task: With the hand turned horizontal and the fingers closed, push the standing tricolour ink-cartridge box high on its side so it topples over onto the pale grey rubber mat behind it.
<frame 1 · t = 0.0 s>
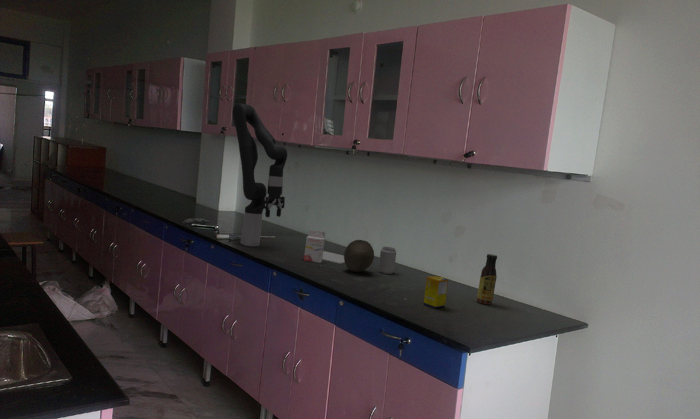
hand: (273, 216, 277), 17 cm above the worktop, tool pointing down, fingers open, 8 cm apart
can: (385, 272, 255), on the worktop
cantaloupe: (357, 272, 248), on the worktop
mat: (331, 257, 276), on the worktop
supplement box: (433, 306, 204), on the worktop
ink cartridge box: (313, 261, 262), on the worktop
sauce bottle: (484, 303, 217), on the worktop
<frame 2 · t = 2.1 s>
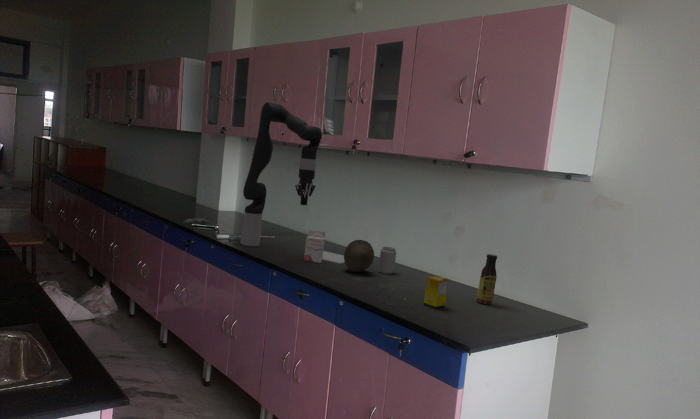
hand: (303, 205, 256), 27 cm above the worktop, tool pointing down, fingers closed
nothing on the worktop moved.
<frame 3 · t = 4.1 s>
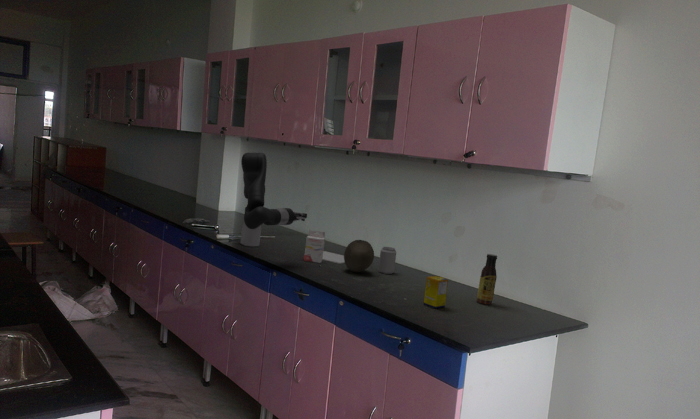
hand: (305, 215, 252), 23 cm above the worktop, tool horizontal, fingers closed
nothing on the worktop moved.
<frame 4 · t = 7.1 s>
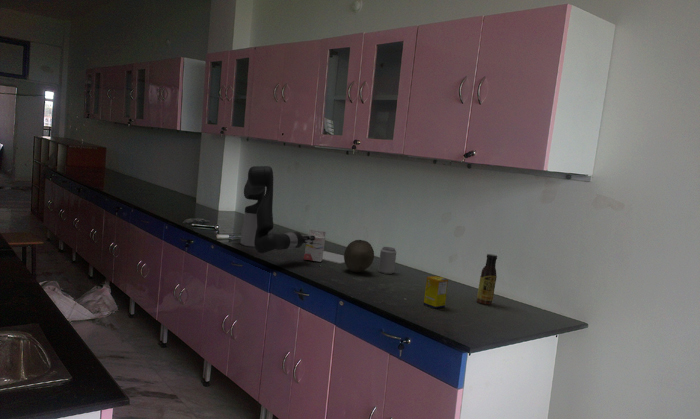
hand: (313, 237, 260), 12 cm above the worktop, tool horizontal, fingers closed
ink cartridge box: (313, 260, 262), on the worktop, touching gripper
everything else where it was.
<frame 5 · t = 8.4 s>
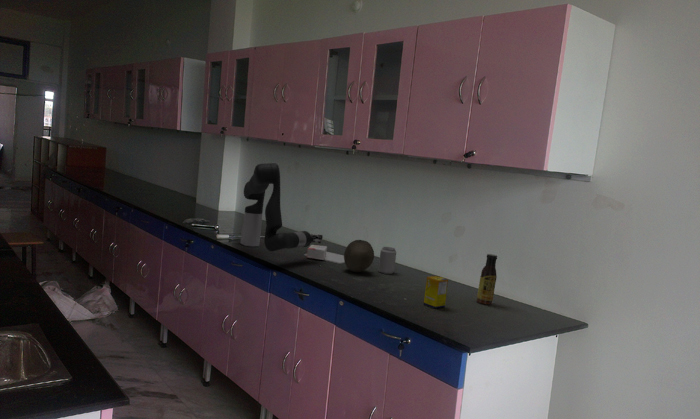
hand: (321, 237, 265), 11 cm above the worktop, tool horizontal, fingers closed
ink cartridge box: (315, 254, 265), point 3 cm above the worktop, touching mat
everything else where it was.
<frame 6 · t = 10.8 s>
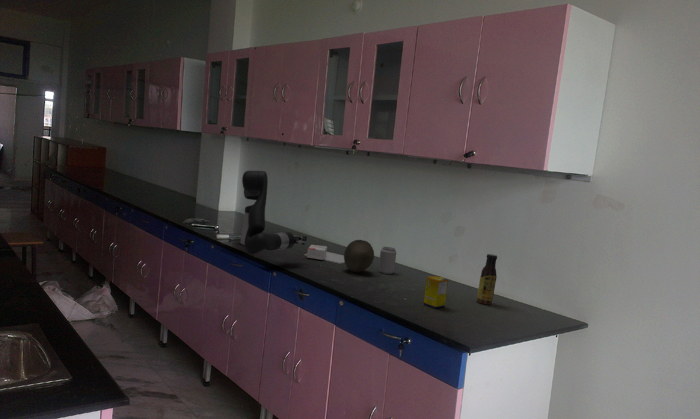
hand: (305, 238, 254), 12 cm above the worktop, tool horizontal, fingers closed
nothing on the worktop moved.
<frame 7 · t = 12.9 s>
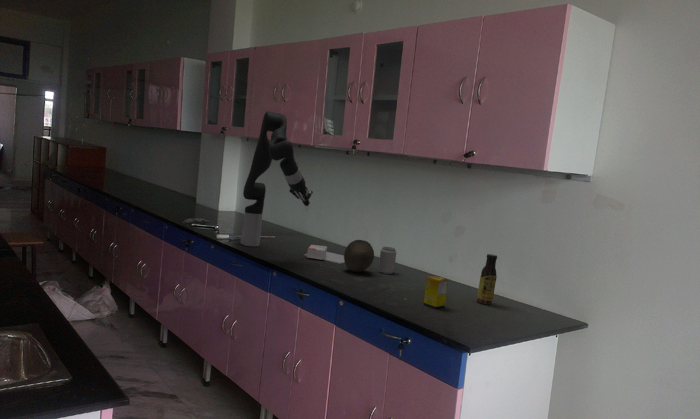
hand: (307, 204, 255), 27 cm above the worktop, tool tilted 45°, fingers closed
nothing on the worktop moved.
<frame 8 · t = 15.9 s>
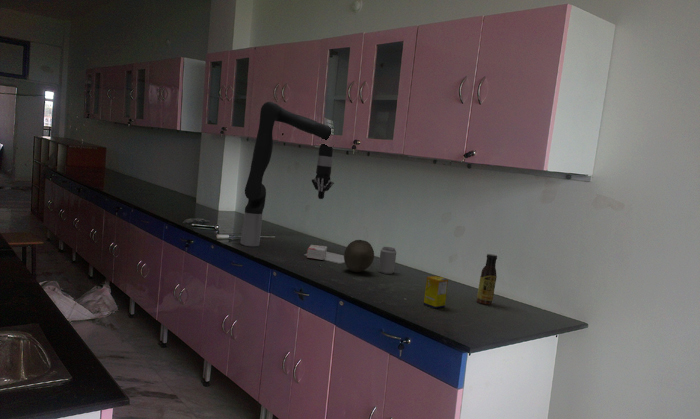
hand: (320, 198, 277), 29 cm above the worktop, tool pointing down, fingers closed
nothing on the worktop moved.
at the end: ink cartridge box tilted 90°; ink cartridge box 13.6 cm from the mat (horizontally); ink cartridge box moved 3.9 cm from its start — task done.
